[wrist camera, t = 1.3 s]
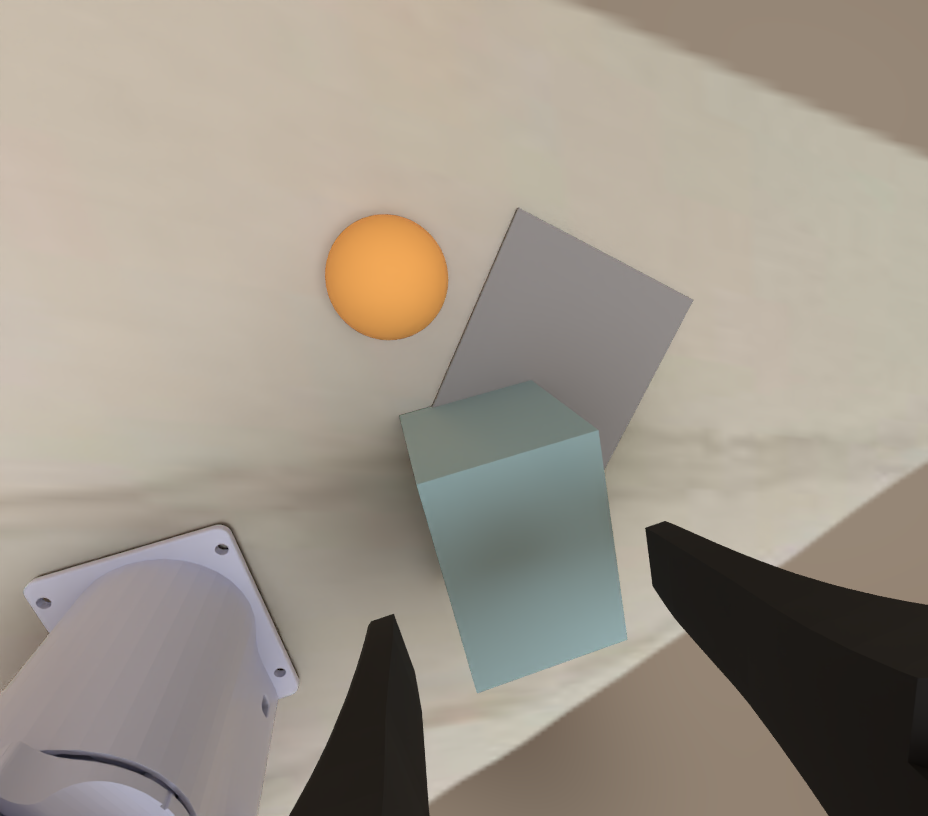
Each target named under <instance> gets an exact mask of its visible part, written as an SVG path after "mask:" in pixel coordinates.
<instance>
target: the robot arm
mask: <svg viewBox="0 0 928 816" xmlns="http://www.w3.org/2000/svg"><path fill="white" fill-rule="evenodd" d="M645 529H646V537H647V545H648V553H649V561H650V569H651V577H652V585H653V587H654V589H655V590H656V592H657V593H658V595H659V596H660V598H661V599H662V601H663V602H664V604H665V605H666V607H667V608H668V610H669V611H670V612H671V614H672V615H673V617H674V618H675V619H676V620H677V622H678V623H679V624H680V625H681V626H682V627H683V629H684V630H685V631H686V632H687V633H688V634H689V635H690V637H691V638H692V639H693V640H694V641H695V642H696V643H697V644H698V646H699V647H700V648H701V649H702V650H703V651H704V652H705V654H706V655H707V656H708V657H709V658H710V659H711V660H712V661H713V663H714V664H715V665H716V666H717V667H718V668H719V669H720V670H721V672H722V673H724V675H725V676H726V677H727V678H728V679H729V681H730V682H731V683H732V684H733V685H734V686H735V687H736V689H737V690H738V691H739V692H740V693H741V695H742V696H743V697H744V698H745V699H746V701H747V702H748V703H749V704H750V705H751V707H752V708H753V710H754V711H755V712H756V714H757V715H758V716H759V718H760V719H761V720H762V722H763V723H764V724H765V726H766V727H767V728H768V730H769V731H770V733H771V734H772V735H773V737H774V738H775V739H776V741H777V742H778V744H779V745H780V746H781V748H782V749H783V751H784V752H785V753H786V755H787V756H788V758H789V759H790V760H791V762H792V763H793V765H794V766H795V767H796V769H797V770H798V772H799V773H800V774H801V776H802V777H803V779H804V780H805V781H806V783H807V784H808V786H809V787H810V789H811V790H812V792H813V793H814V795H815V796H816V798H817V799H818V800H819V802H820V804H821V805H822V807H823V808H824V809H825V811H826V813H827V814H828V815H829V816H928V605H925V604H919V603H912V602H907V601H902V600H897V599H892V598H887V597H882V596H877V595H873V594H869V593H864V592H860V591H856V590H852V589H847V588H844V587H840V586H836V585H832V584H828V583H825V582H821V581H819V580H815V579H812V578H808V577H805V576H802V575H799V574H795V573H792V572H789V571H786V570H783V569H781V568H778V567H775V566H773V565H770V564H767V563H764V562H761V561H759V560H756V559H754V558H751V557H749V556H746V555H744V554H741V553H739V552H736V551H734V550H731V549H729V548H727V547H724V546H722V545H720V544H717V543H715V542H713V541H710V540H708V539H706V538H704V537H701V536H699V535H697V534H694V533H692V532H690V531H688V530H685V529H683V528H681V527H679V526H676V525H674V524H671V523H669V522H666V521H664V522H661V523H658V524H655V525H652V526H649V527H646V528H645ZM219 544H224V545H226V546H227V547H228V549H226V550H222V549H220V548H219V547H218V545H219ZM23 594H24V596H25V598H26V599H27V601H28V602H29V604H30V605H31V607H32V608H33V610H34V611H35V613H36V614H37V616H38V617H39V619H40V620H41V622H42V623H43V625H44V626H45V628H46V629H47V631H48V632H49V635H48V636H47V637H46V638H45V640H44V641H43V642H42V643H41V644H40V646H39V647H38V648H37V649H36V651H35V652H34V653H33V654H32V656H31V657H30V658H29V659H28V661H27V662H26V663H25V664H24V665H23V667H22V668H21V669H20V670H19V672H18V673H17V674H16V675H15V677H14V678H13V679H12V680H11V682H10V683H9V684H8V685H7V687H6V688H5V689H4V690H3V691H2V693H1V694H0V816H257V815H258V810H259V804H260V798H261V793H262V787H263V782H264V776H265V771H266V765H267V759H268V754H269V748H270V743H271V737H272V731H273V726H274V720H275V715H276V709H277V703H278V699H281V698H284V697H287V696H290V695H292V694H294V693H295V692H296V691H297V690H298V687H299V678H298V676H297V674H296V672H295V670H294V667H293V665H292V663H291V661H290V659H289V656H288V654H287V652H286V650H285V648H284V645H283V643H282V641H281V639H280V637H279V635H278V632H277V630H276V628H275V626H274V624H273V621H272V619H271V617H270V615H269V613H268V610H267V608H266V606H265V604H264V602H263V600H262V597H261V595H260V593H259V591H258V589H257V586H256V584H255V582H254V580H253V578H252V575H251V573H250V571H249V569H248V567H247V564H246V562H245V560H244V558H243V556H242V554H241V551H240V549H239V547H238V545H237V543H236V540H235V538H234V536H233V534H232V532H231V530H230V529H229V528H228V527H226V526H224V525H214V526H210V527H207V528H203V529H200V530H197V531H193V532H190V533H187V534H183V535H180V536H176V537H173V538H170V539H166V540H163V541H159V542H156V543H153V544H149V545H146V546H142V547H139V548H136V549H132V550H129V551H126V552H122V553H119V554H115V555H112V556H109V557H105V558H102V559H98V560H95V561H92V562H88V563H85V564H81V565H78V566H75V567H71V568H68V569H65V570H61V571H58V572H54V573H51V574H48V575H44V576H41V577H37V578H35V579H33V580H31V581H30V582H29V583H28V584H27V585H26V587H25V588H24V591H23ZM42 598H47V599H49V600H50V601H51V602H46V601H44V600H43V599H42ZM278 668H282V669H284V670H281V671H280V670H277V669H278ZM289 816H429V805H428V791H427V776H426V762H425V748H424V734H423V721H422V710H421V704H420V698H419V692H418V687H417V681H416V676H415V671H414V668H413V665H412V663H411V660H410V657H409V654H408V652H407V649H406V646H405V643H404V641H403V638H402V635H401V632H400V630H399V627H398V624H397V621H396V619H395V616H394V614H392V615H389V616H386V617H383V618H380V619H377V620H374V621H371V622H370V624H369V626H368V629H367V633H366V637H365V641H364V644H363V648H362V651H361V655H360V658H359V661H358V664H357V668H356V671H355V673H354V676H353V679H352V682H351V685H350V688H349V691H348V694H347V696H346V699H345V702H344V704H343V706H342V709H341V711H340V714H339V716H338V719H337V721H336V724H335V726H334V729H333V731H332V733H331V736H330V738H329V740H328V742H327V744H326V747H325V749H324V751H323V753H322V755H321V757H320V759H319V761H318V763H317V765H316V767H315V769H314V771H313V773H312V775H311V777H310V779H309V781H308V782H307V784H306V786H305V788H304V790H303V792H302V793H301V795H300V797H299V799H298V801H297V803H296V804H295V806H294V808H293V810H292V811H291V813H290V815H289Z"/></svg>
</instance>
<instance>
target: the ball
mask: <svg viewBox="0 0 928 816" xmlns="http://www.w3.org/2000/svg"><path fill="white" fill-rule="evenodd" d="M325 280H326V288H327V292H328V295H329V298H330V300H331V303H332V305H333V307H334V308H335V310H336V311H337V313H338V314H339V316H340V317H341V318H342V319H343V320H344V321H345V322H346V323H347V324H348V325H349V326H350V327H352V328H353V329H355V330H356V331H358V332H359V333H362V334H364V335H366V336H369V337H372V338H376V339H381V340H397V339H402V338H406V337H409V336H412V335H414V334H416V333H418V332H420V331H421V330H423V329H424V328H425V327H426V326H428V325H429V324H430V323H431V322H432V321H433V320H434V318H435V317H436V316H437V314H438V313H439V311H440V309H441V308H442V306H443V303H444V300H445V298H446V294H447V289H448V271H447V265H446V262H445V258H444V256H443V253H442V251H441V249H440V247H439V246H438V244H437V242H436V241H435V240H434V238H433V237H432V236H431V235H430V234H429V233H428V232H427V231H426V230H425V229H424V228H422V227H421V226H420V225H418V224H416V223H415V222H413V221H411V220H409V219H406V218H404V217H400V216H396V215H388V214H385V215H373V216H369V217H365V218H362V219H360V220H358V221H356V222H354V223H353V224H351V225H350V226H348V227H347V228H346V229H345V230H344V231H343V232H342V233H341V234H340V235H339V236H338V237H337V239H336V240H335V242H334V244H333V245H332V247H331V250H330V252H329V255H328V258H327V262H326V268H325Z"/></svg>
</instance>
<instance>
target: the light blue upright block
mask: <svg viewBox="0 0 928 816" xmlns="http://www.w3.org/2000/svg"><path fill="white" fill-rule="evenodd" d="M399 417H400V421H401V425H402V429H403V433H404V437H405V441H406V445H407V449H408V453H409V457H410V461H411V465H412V469H413V473H414V477H415V481H416V485H417V488H418V492H419V495H420V499H421V502H422V506H423V509H424V513H425V516H426V519H427V523H428V526H429V530H430V533H431V537H432V540H433V543H434V547H435V550H436V554H437V557H438V561H439V564H440V568H441V571H442V574H443V578H444V581H445V585H446V588H447V592H448V595H449V599H450V602H451V605H452V609H453V612H454V616H455V619H456V623H457V626H458V629H459V633H460V636H461V640H462V643H463V647H464V650H465V654H466V657H467V660H468V664H469V667H470V671H471V674H472V678H473V681H474V684H475V688H476V691H477V693H480V692H482V691H485V690H488V689H491V688H494V687H496V686H499V685H502V684H505V683H508V682H510V681H513V680H516V679H519V678H522V677H524V676H527V675H530V674H533V673H536V672H538V671H541V670H544V669H547V668H550V667H552V666H555V665H558V664H561V663H563V662H566V661H569V660H572V659H575V658H577V657H580V656H583V655H586V654H589V653H591V652H594V651H597V650H600V649H603V648H605V647H608V646H611V645H614V644H617V643H619V642H622V641H625V640H627V633H626V626H625V618H624V611H623V604H622V597H621V589H620V582H619V575H618V568H617V560H616V553H615V546H614V539H613V531H612V524H611V517H610V510H609V502H608V495H607V488H606V481H605V473H604V466H603V459H602V452H601V444H600V437H599V430H598V429H596V428H595V427H594V426H592V425H591V424H590V423H588V422H587V421H586V420H584V419H583V418H582V417H580V416H579V415H578V414H576V413H575V412H574V411H572V410H571V409H570V408H568V407H567V406H566V405H564V404H563V403H561V402H560V401H559V400H557V399H556V398H555V397H553V396H552V395H551V394H549V393H548V392H547V391H545V390H544V389H543V388H541V387H540V386H539V385H537V384H536V383H535V382H533V381H532V380H529V381H526V382H522V383H519V384H515V385H512V386H508V387H505V388H501V389H497V390H494V391H490V392H487V393H483V394H480V395H476V396H473V397H469V398H466V399H462V400H458V401H455V402H451V403H448V404H444V405H441V406H437V407H434V408H432V406H431V407H428V408H424V409H421V410H417V411H414V412H410V413H407V414H403V415H400V416H399Z"/></svg>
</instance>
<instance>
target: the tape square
mask: <svg viewBox="0 0 928 816" xmlns="http://www.w3.org/2000/svg"><path fill="white" fill-rule="evenodd" d="M692 302H693V299H691V298H689V297H687V296H685V295H683V294H681V293H679V292H677V291H676V290H674V289H672V288H670V287H668V286H666V285H664V284H662V283H660V282H659V281H657V280H655V279H653V278H651V277H649V276H647V275H645V274H643V273H641V272H640V271H638V270H636V269H634V268H632V267H630V266H628V265H626V264H624V263H623V262H621V261H619V260H617V259H615V258H613V257H611V256H609V255H607V254H605V253H604V252H602V251H600V250H598V249H596V248H594V247H592V246H590V245H588V244H586V243H585V242H583V241H581V240H579V239H577V238H575V237H573V236H571V235H569V234H568V233H566V232H564V231H562V230H560V229H558V228H556V227H554V226H552V225H550V224H549V223H547V222H545V221H543V220H541V219H539V218H537V217H535V216H533V215H532V214H530V213H528V212H526V211H524V210H522V209H520V208H517V210H516V212H515V215H514V217H513V219H512V222H511V224H510V226H509V229H508V231H507V233H506V236H505V238H504V240H503V242H502V245H501V247H500V249H499V252H498V254H497V256H496V259H495V261H494V263H493V266H492V268H491V270H490V273H489V275H488V277H487V280H486V282H485V284H484V287H483V289H482V291H481V294H480V296H479V298H478V300H477V303H476V305H475V307H474V310H473V312H472V314H471V317H470V319H469V321H468V324H467V326H466V328H465V331H464V333H463V335H462V338H461V340H460V342H459V345H458V347H457V349H456V352H455V354H454V356H453V358H452V361H451V363H450V365H449V368H448V370H447V372H446V375H445V377H444V379H443V382H442V384H441V386H440V389H439V391H438V393H437V396H436V398H435V400H434V403H433V405H432V408H434V407H437V406H441V405H444V404H448V403H451V402H455V401H458V400H462V399H466V398H469V397H473V396H476V395H480V394H483V393H487V392H490V391H494V390H497V389H501V388H505V387H508V386H512V385H515V384H519V383H522V382H526V381H529V380H532V381H533V382H535V383H536V384H537V385H539V386H540V387H541V388H543V389H544V390H545V391H547V392H548V393H549V394H551V395H552V396H553V397H555V398H556V399H557V400H559V401H560V402H561V403H563V404H564V405H566V406H567V407H568V408H570V409H571V410H572V411H574V412H575V413H576V414H578V415H579V416H580V417H582V418H583V419H584V420H586V421H587V422H588V423H590V424H591V425H592V426H594V427H595V428H596V429H598V430H599V437H600V444H601V452H602V459H603V466H604V469H605V468H606V466H607V464H608V462H609V460H610V458H611V456H612V454H613V452H614V450H615V449H616V447H617V445H618V443H619V441H620V439H621V437H622V435H623V433H624V431H625V429H626V428H627V426H628V424H629V422H630V420H631V418H632V416H633V414H634V412H635V410H636V409H637V407H638V405H639V403H640V401H641V399H642V397H643V395H644V393H645V391H646V389H647V388H648V386H649V384H650V382H651V380H652V378H653V376H654V374H655V372H656V370H657V369H658V367H659V365H660V363H661V361H662V359H663V357H664V355H665V353H666V351H667V349H668V348H669V346H670V344H671V342H672V340H673V338H674V336H675V334H676V332H677V330H678V329H679V327H680V325H681V323H682V321H683V319H684V317H685V315H686V313H687V311H688V309H689V308H690V306H691V304H692Z"/></svg>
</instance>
